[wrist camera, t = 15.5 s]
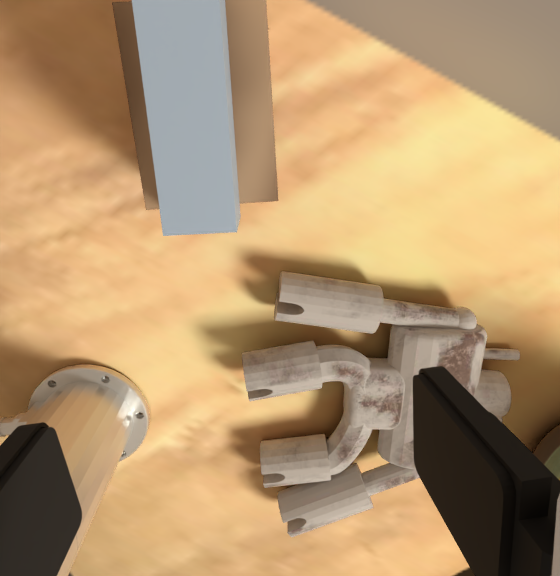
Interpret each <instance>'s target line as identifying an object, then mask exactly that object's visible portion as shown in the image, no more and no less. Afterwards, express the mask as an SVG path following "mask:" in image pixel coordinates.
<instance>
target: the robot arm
mask: <svg viewBox="0 0 560 576" xmlns="http://www.w3.org/2000/svg"><path fill="white" fill-rule="evenodd" d="M149 420H150V415H149V408H148V405H147V402H146V399H145V397H144V396H143V394H142V393H141V391H140V390H139V389H138V387H137V386H136V385H135V384H134V383H133V382H132V381H130V380H129V379H128V378H126V377H125V376H124V375H122V374H120V373H118V372H116V371H114V370H112V369H109V368H106V367H103V366H97V365H91V364H79V365H73V366H68V367H65V368H62V369H59V370H57V371H55V372H54V373H52V374H50V375H49V376H48V377H46V378H45V379H44V380H43V381H42V382H41V383H40V384H39V386H38V387H37V388H36V389H35V390H34V392H33V394H32V396H31V398H30V401H29V406H28V411H27V412H26V413H19V414H17V415H16V416H15V417H11V418H7V417H1V418H0V437H5V436H6V435H9V437H8V438H7V439H6V440H5V441H4V442H3V443H2V445H1V446H0V576H68V574H69V572H70V570H71V567H72V565H73V563H74V561H75V558H76V556H77V554H78V552H79V549H80V547H81V545H82V543H83V540H84V538H85V536H86V534H87V531H88V529H89V527H90V525H91V523H92V520H93V518H94V516H95V514H96V511H97V509H98V507H99V505H100V502H101V500H102V498H103V496H104V493H105V491H106V489H107V487H108V484H109V482H110V480H111V478H112V475H113V473H114V471H115V469H116V466H117V464H118V462H120V461H122V460H124V459H125V458H127V457H129V456H130V455H131V454H133V453H134V452H135V451H136V450H137V449H138V448H139V446H140V445H141V444H142V442H143V440H144V438H145V436H146V433H147V430H148V427H149ZM413 448H414V464H415V468H416V471H417V473H418V475H419V477H420V479H421V480H422V482H423V484H424V486H425V488H426V489H427V491H428V493H429V495H430V496H431V498H432V500H433V502H434V504H435V505H436V507H437V509H438V511H439V513H440V514H441V516H442V518H443V520H444V522H445V523H446V525H447V527H448V529H449V530H450V532H451V534H452V536H453V538H454V539H455V541H456V543H457V545H458V547H459V548H460V550H461V552H462V554H463V556H464V557H465V559H466V561H467V563H468V564H469V566H470V568H471V570H472V571H473V573H474V575H475V576H560V480H559V479H558V478H557V477H556V476H555V475H554V474H553V473H552V472H551V471H550V470H549V469H548V468H547V467H546V466H545V465H544V464H543V463H542V462H541V461H540V460H539V459H538V458H537V457H536V456H535V455H534V454H533V453H532V452H531V451H530V450H529V449H528V448H527V447H526V446H525V445H524V444H523V443H522V442H521V441H520V440H519V439H518V438H517V437H516V436H515V435H514V434H513V433H512V432H511V431H510V430H509V429H508V428H507V427H506V426H505V425H504V424H503V423H502V422H501V421H500V420H499V419H498V418H497V417H496V416H495V415H493V414H492V413H491V412H488V411H487V410H486V409H485V408H484V407H483V406H482V405H481V404H480V403H479V402H478V401H477V400H476V399H475V398H474V397H473V396H472V395H471V394H470V393H469V392H468V391H467V390H466V389H465V388H464V387H463V386H462V385H461V384H460V383H459V382H458V381H457V380H456V379H455V378H454V376H453V375H452V374H451V373H450V372H449V371H448V370H447V369H446V368H445V367H443V366H436V367H429V368H422V369H420V370H419V374H418V375H414V376H413Z"/></svg>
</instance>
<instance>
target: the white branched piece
mask: <svg viewBox="0 0 560 576" xmlns="http://www.w3.org/2000/svg"><path fill="white" fill-rule="evenodd" d="M274 320H277V321H284V322H291V323H299V324H306V325H313V326H320V327H328V328H335V329H342V330H349V331H356V332H364V333H371V334H373V333H375V332H376V330H377V329H378V327H379V324H380V322H381V323H388V324H393V325H392V327H391V332H390V341H389V350H388V358H367V357H365V356H364V355H363V354H361V353H359V352H358V351H356V350H354V349H352V348H350V347H347V346H343V345H322V346H315V343H314V341H307V342H301V343H295V344H290V345H284V346H278V347H272V348H266V349H260V350H254V351H249V352H243V353H242V361H243V369H244V376H245V383H246V389H247V391H248V397H249V401H254V400H259V399H265V398H270V397H276V396H282V395H287V394H293V393H298V392H304V391H310V390H315V389H321V388H322V383H323V382H329V381H342V382H343V385H344V400H343V408H344V413H343V416H342V419H341V421H340V423H339V424H338V426H337V427H336V429H335V430H334V432H333V433H332V434H331V435H330V437H329V438H328V439H327V440H326V439H325V434H317V435H308V436H300V437H291V438H282V439H273V440H265V441H261V442H260V462H261V473H262V475H263V474H264V477H263V485H264V487H265V488H267V487H276V486H285V485H293V484H297V485H294V486H292V487H289V488H286V489H284V490H281V491H279V492H278V504H279V509H280V513H281V517H282V520H283V523H285V522H287V521H288V534H289V535H290V537H294V536H297V535H300V534H302V533H305V532H308V531H311V530H313V529H316V528H319V527H322V526H324V525H327V524H330V523H333V522H336V521H338V520H341V519H344V518H347V517H349V516H352V515H355V514H358V513H360V512H363V511H366V510H369V509H371V508H373V504H372V501H371V498H370V496H371V495H374V494H376V493H379V492H382V491H385V490H387V489H390V488H393V487H395V486H398V485H401V484H404V483H406V482H409V481H412V480H415V479H417V478H420V477H419V475H418V473H417V471H416V468H415V464H414V448H413V376H414V375H418V374H419V370H420V369H422V368H429V367H436V366H443V367H445V368H446V369H447V370H448V371H449V372H450V373H451V374H452V375H453V376H454V378H455V379H456V380H457V381H458V382H459V383H460V384H461V385H462V386H463V387H464V388H465V389H466V390H467V391H468V392H469V393H470V394H471V395H472V396H473V397H474V398H475V399H476V400H477V401H478V402H479V403H480V404H481V405H482V406H483V407H484V408H485V409H486V410H487V411H488V412H491V413H492V414H493V415H495V416H496V417H497V418H498V419H499V420H500V421H501V422H502V416H505V415H506V414H507V412H508V411H509V408H510V405H511V390H510V386H509V383H508V381H507V379H506V377H505V376H504V375H503V373H501V372H499V371H494V370H483V369H481V367H482V362H483V359H496V360H519V358H520V352H519V350H517V349H499V348H485V346H486V340H487V333H486V331H485V329H484V328H483V327H482V326H480V325H478V324H477V320H476V316H475V315H474V313H473V312H472V311H471V310H469V309H467V308H464V307H456V308H454V309H453V308H446V307H439V306H432V305H425V304H418V303H412V302H405V301H398V300H391V299H384V298H383V291H382V288H381V287H380V286H379V285H373V284H366V283H360V282H353V281H346V280H339V279H333V278H326V277H319V276H312V275H306V274H299V273H292V272H286V271H281V274H280V278H279V292H277V296H276V302H275V311H274ZM372 429H379V438H378V453H379V454H380V455H381V457H382V458H383V459H385V460H386V461H388V462H390V463H388V464H385V465H382V466H380V467H377V468H374V469H371V470H369V471H366V472H363V473H361V471H360V469H359V467H358V465H357V463H354V464H351V463H352V462H353V461H354V460H355V458H356V457H357V456H358V455H359V453H360V452H361V450H362V449H363V447H364V446H365V444H366V442H367V440H368V438H369V436H370V434H371V432H372ZM350 464H351V465H350Z"/></svg>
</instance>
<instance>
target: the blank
mask: <svg viewBox="0 0 560 576" xmlns="http://www.w3.org/2000/svg"><path fill="white" fill-rule="evenodd" d="M132 6H133V13H134V21H135V28H136V36H137V43H138V51H139V58H140V66H141V73H142V81H143V88H144V96H145V103H146V111H147V118H148V126H149V133H150V141H151V148H152V155H153V163H154V170H155V178H156V185H157V193H158V200H159V208H160V215H161V223H162V230H163V236H169V235H189V234H208V233H228V232H237V229H238V225H239V220H240V204H239V190H238V176H237V162H236V148H235V134H234V120H233V106H232V92H231V78H230V64H229V50H228V36H227V22H226V7H225V0H132Z"/></svg>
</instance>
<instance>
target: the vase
mask: <svg viewBox="0 0 560 576" xmlns="http://www.w3.org/2000/svg"><path fill="white" fill-rule="evenodd" d="M533 454H534V455H535V456H536V457H537V458H538V459H539V460H540V461H541V462H542V463H543V464H544V465H545V466H546V467H547V468H548V469H549V470H550V471H551V472H552V473H553V474H554V475H555V476H556V477H557V478H558V479H559V480H560V424H559V425H558V426H557V427H555V428H554V429H553V430H551V431H550V432H549V433H548V434H547V435H546V436H545V437H544V438H543V439H542V441H541V442H540V443H539V444H538V446H537V448H536V449H535V451H534V453H533Z"/></svg>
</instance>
